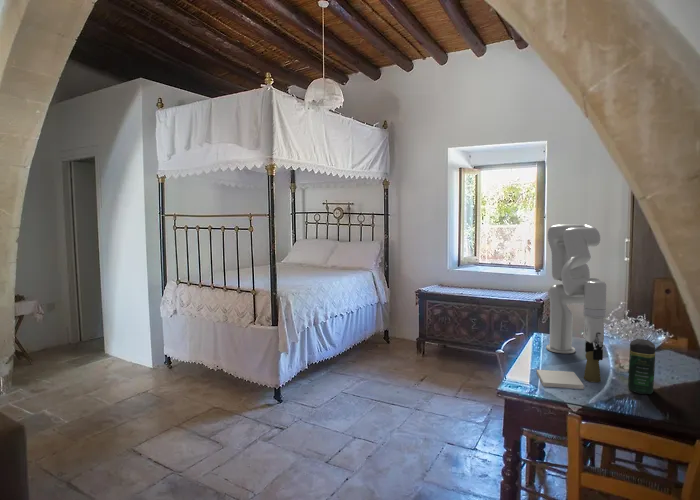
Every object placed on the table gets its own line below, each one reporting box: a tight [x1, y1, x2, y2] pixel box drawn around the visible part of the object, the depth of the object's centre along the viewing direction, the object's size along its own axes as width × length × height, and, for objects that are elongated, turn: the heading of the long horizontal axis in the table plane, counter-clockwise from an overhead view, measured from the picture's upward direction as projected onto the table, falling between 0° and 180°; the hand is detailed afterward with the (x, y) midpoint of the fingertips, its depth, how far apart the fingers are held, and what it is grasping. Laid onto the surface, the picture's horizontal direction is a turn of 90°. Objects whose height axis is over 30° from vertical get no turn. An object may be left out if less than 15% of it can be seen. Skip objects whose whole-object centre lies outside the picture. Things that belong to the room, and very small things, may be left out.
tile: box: [536, 369, 585, 390], centre depth 172 cm, size 14×14×2 cm
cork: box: [583, 351, 602, 383], centre depth 173 cm, size 6×6×11 cm
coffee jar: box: [627, 338, 656, 395], centre depth 162 cm, size 10×8×19 cm
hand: (593, 356), depth 172 cm, fingers open, 9 cm apart
